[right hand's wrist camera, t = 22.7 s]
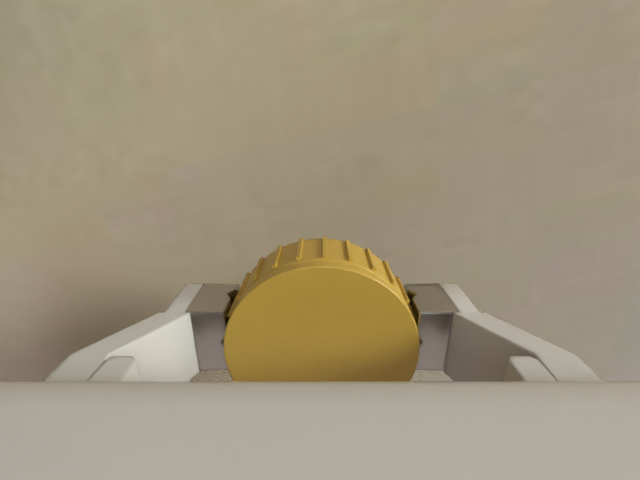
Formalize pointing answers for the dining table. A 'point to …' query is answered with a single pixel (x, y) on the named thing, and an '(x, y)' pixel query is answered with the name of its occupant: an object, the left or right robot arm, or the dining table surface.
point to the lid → (321, 318)
